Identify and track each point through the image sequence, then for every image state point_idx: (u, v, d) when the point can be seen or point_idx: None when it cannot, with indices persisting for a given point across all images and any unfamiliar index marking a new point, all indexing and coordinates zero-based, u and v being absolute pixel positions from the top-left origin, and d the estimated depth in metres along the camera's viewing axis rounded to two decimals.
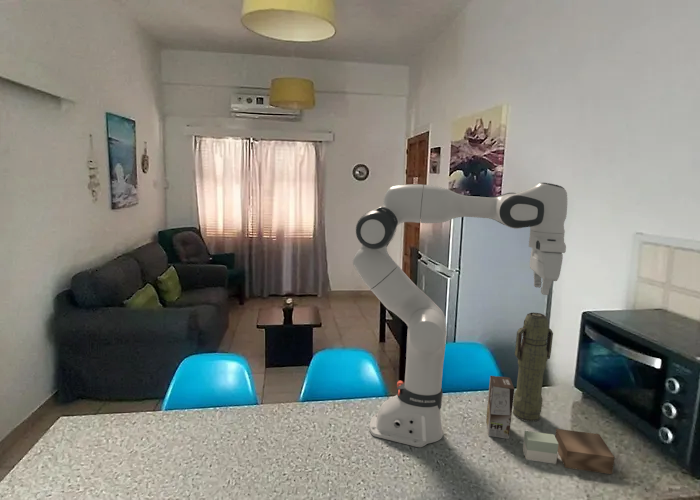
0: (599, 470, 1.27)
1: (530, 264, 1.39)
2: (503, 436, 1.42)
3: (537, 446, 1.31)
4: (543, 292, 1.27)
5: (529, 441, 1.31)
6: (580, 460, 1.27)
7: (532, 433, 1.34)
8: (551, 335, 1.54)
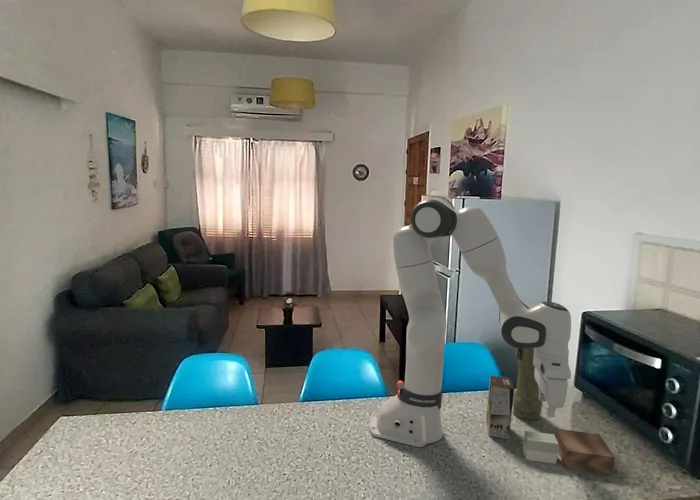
0: (599, 470, 1.27)
1: (535, 375, 1.39)
2: (503, 436, 1.42)
3: (537, 446, 1.31)
4: (549, 414, 1.26)
5: (529, 441, 1.31)
6: (580, 460, 1.27)
7: (532, 433, 1.34)
8: None
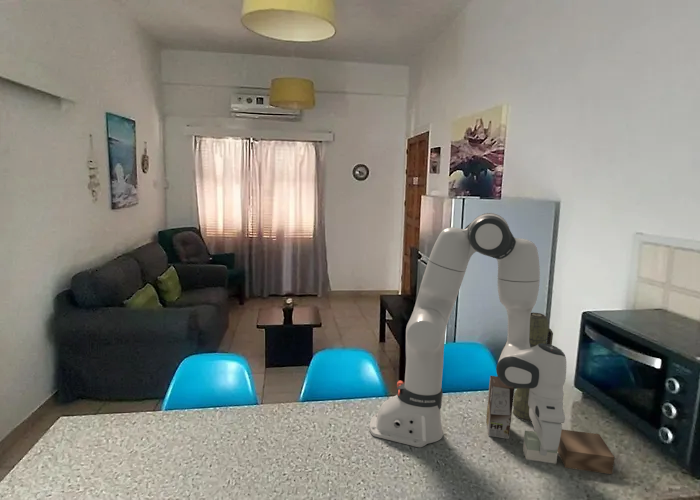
0: (599, 470, 1.27)
1: (529, 413, 1.40)
2: (503, 436, 1.42)
3: (537, 446, 1.31)
4: (541, 453, 1.29)
5: (529, 441, 1.31)
6: (580, 460, 1.27)
7: (532, 433, 1.34)
8: (551, 335, 1.54)
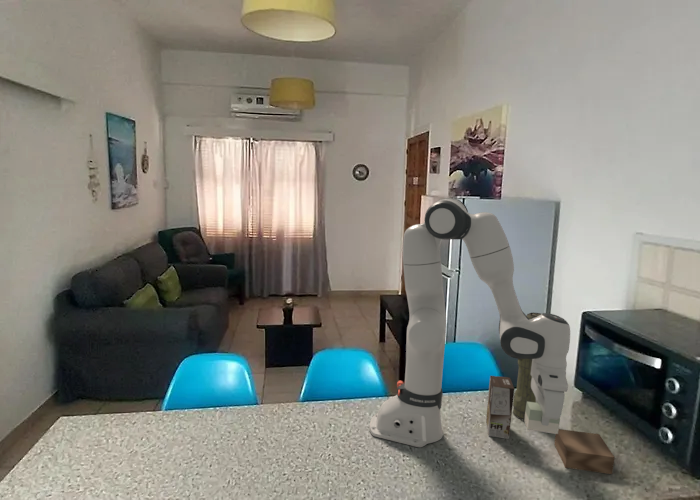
0: (599, 470, 1.27)
1: (531, 385, 1.39)
2: (503, 436, 1.42)
3: (538, 416, 1.29)
4: (543, 423, 1.28)
5: (531, 411, 1.30)
6: (580, 460, 1.27)
7: (534, 404, 1.33)
8: None
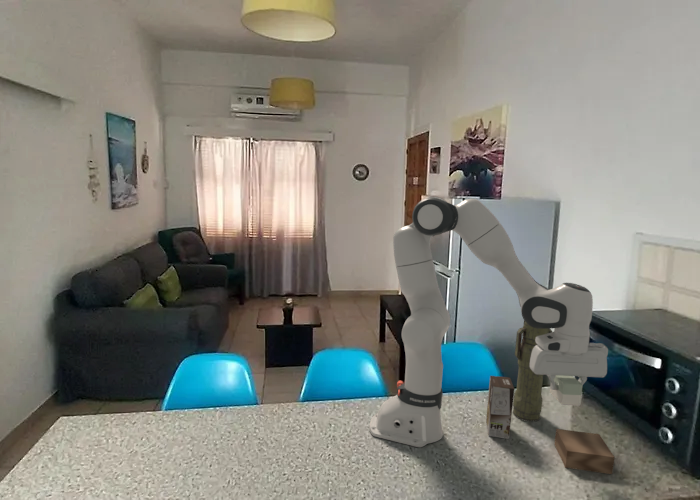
0: (599, 470, 1.27)
1: None
2: (503, 436, 1.42)
3: (554, 381, 1.32)
4: (550, 386, 1.31)
5: None
6: (580, 460, 1.27)
7: None
8: None
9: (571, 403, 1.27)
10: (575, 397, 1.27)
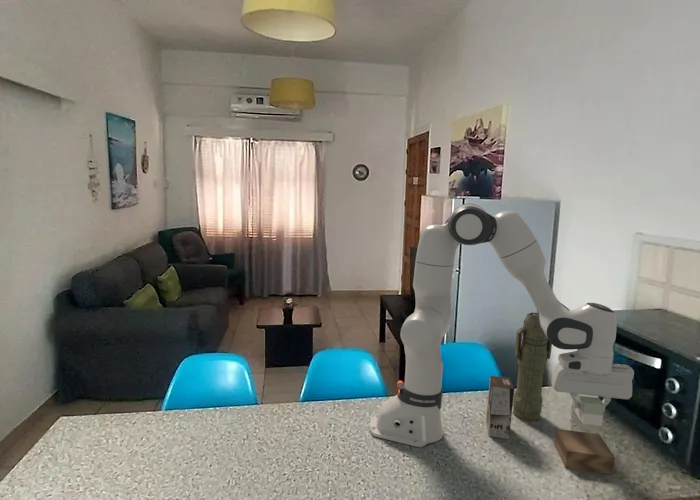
0: (599, 470, 1.27)
1: None
2: (503, 436, 1.42)
3: (578, 399, 1.33)
4: (573, 404, 1.32)
5: None
6: (580, 460, 1.27)
7: None
8: None
9: (592, 423, 1.27)
10: (597, 417, 1.27)
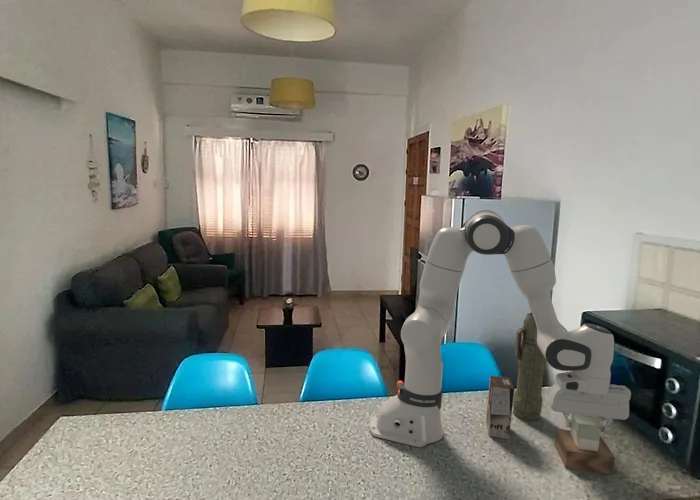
0: (599, 470, 1.27)
1: None
2: (503, 436, 1.42)
3: (574, 424, 1.34)
4: (565, 423, 1.33)
5: (572, 416, 1.36)
6: (580, 460, 1.27)
7: (589, 419, 1.33)
8: None
9: (588, 448, 1.29)
10: (593, 442, 1.28)
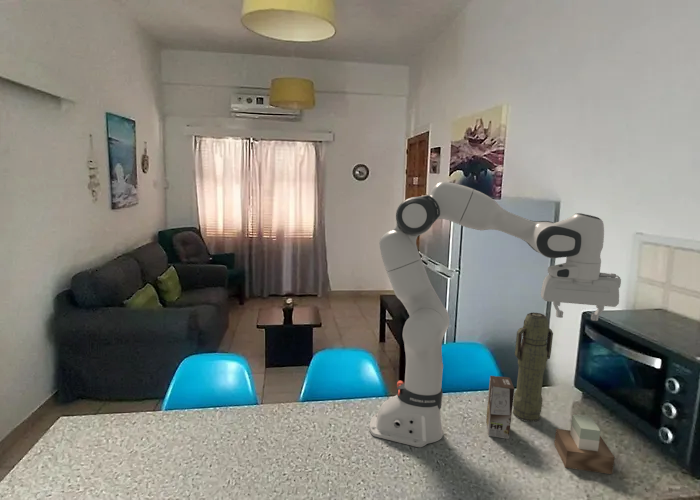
0: (599, 470, 1.27)
1: None
2: (503, 436, 1.42)
3: (574, 424, 1.34)
4: (556, 314, 1.36)
5: (572, 416, 1.36)
6: (580, 460, 1.27)
7: (589, 419, 1.33)
8: (551, 335, 1.54)
9: (588, 448, 1.29)
10: (593, 442, 1.28)
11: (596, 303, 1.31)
